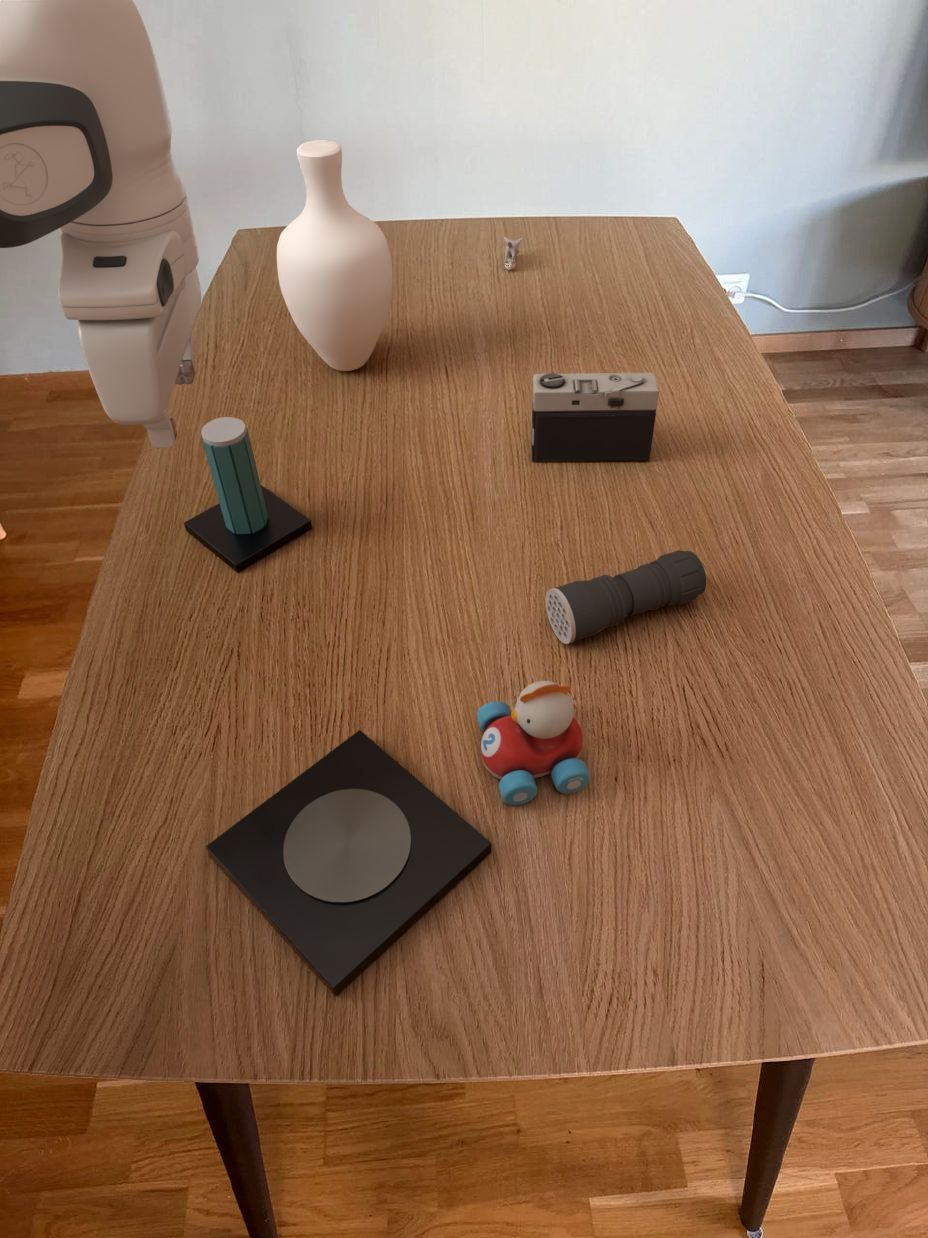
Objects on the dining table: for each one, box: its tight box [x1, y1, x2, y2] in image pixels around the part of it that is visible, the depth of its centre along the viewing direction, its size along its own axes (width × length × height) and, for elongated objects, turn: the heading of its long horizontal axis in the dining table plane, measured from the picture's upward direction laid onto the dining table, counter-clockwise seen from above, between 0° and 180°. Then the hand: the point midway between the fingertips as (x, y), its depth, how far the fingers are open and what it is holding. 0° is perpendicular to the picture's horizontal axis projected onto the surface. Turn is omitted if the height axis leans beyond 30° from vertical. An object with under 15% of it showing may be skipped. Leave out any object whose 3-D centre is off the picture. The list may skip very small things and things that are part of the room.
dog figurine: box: [502, 236, 524, 271], centre depth 143 cm, size 3×8×6 cm
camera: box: [530, 372, 660, 463], centre depth 107 cm, size 14×8×10 cm, turn 88°
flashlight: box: [544, 549, 707, 645], centre depth 89 cm, size 15×5×5 cm, turn 113°
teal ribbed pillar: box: [200, 416, 268, 534], centre depth 96 cm, size 4×4×12 cm
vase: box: [276, 139, 394, 372], centre depth 115 cm, size 14×14×28 cm
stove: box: [205, 729, 493, 997], centre depth 72 cm, size 16×16×2 cm
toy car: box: [476, 680, 591, 806], centre depth 75 cm, size 9×9×10 cm
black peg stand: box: [183, 483, 313, 574], centre depth 98 cm, size 10×10×7 cm
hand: (176, 410), depth 75 cm, fingers open, 8 cm apart
